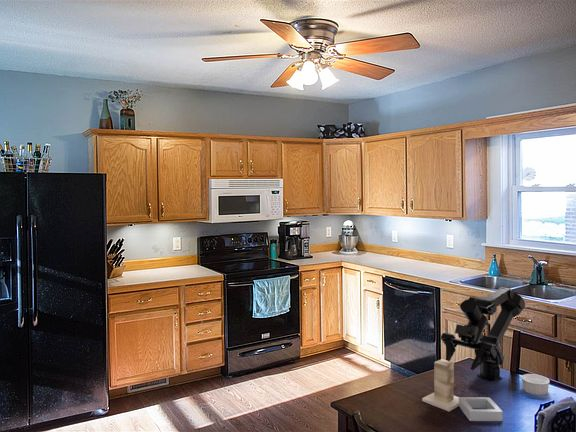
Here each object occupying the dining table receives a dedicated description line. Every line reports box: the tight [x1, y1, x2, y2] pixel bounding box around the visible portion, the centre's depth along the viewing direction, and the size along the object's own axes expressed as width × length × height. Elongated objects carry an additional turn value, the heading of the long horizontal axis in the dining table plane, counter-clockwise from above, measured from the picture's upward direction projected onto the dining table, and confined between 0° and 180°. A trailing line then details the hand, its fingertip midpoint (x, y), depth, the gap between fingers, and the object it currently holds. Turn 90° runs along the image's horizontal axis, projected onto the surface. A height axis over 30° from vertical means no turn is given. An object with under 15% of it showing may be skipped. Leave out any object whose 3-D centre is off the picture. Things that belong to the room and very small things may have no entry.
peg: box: [433, 358, 455, 403], centre depth 155 cm, size 4×4×12 cm
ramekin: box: [520, 373, 550, 396], centre depth 164 cm, size 9×9×4 cm
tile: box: [421, 392, 460, 412], centre depth 156 cm, size 10×10×1 cm
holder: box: [458, 396, 504, 422], centre depth 147 cm, size 10×10×3 cm
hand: (458, 365), depth 160 cm, fingers open, 9 cm apart
